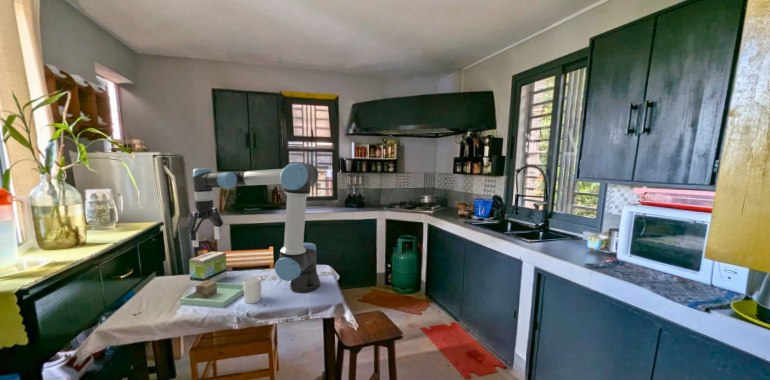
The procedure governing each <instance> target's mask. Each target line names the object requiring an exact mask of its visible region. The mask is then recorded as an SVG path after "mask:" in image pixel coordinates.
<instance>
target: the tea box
mask: <svg viewBox="0 0 770 380" xmlns="http://www.w3.org/2000/svg"><path fill="white" fill-rule="evenodd" d="M188 261H189V263H188V264H189V286H192V287H196V285H198V284H200V283H202V282H204V281H216V282H218V281H220V280H222V279H226V278H227V277H228V274H227V253H226V252H225V251H223V252H222V251H213V250H212V251H210V252H209V251H208V252H206V253H204V254H203V253H202V254H200V255H198V256H195V257H193V258H190V259H189V260H188ZM225 277H226V278H225Z"/></svg>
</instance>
